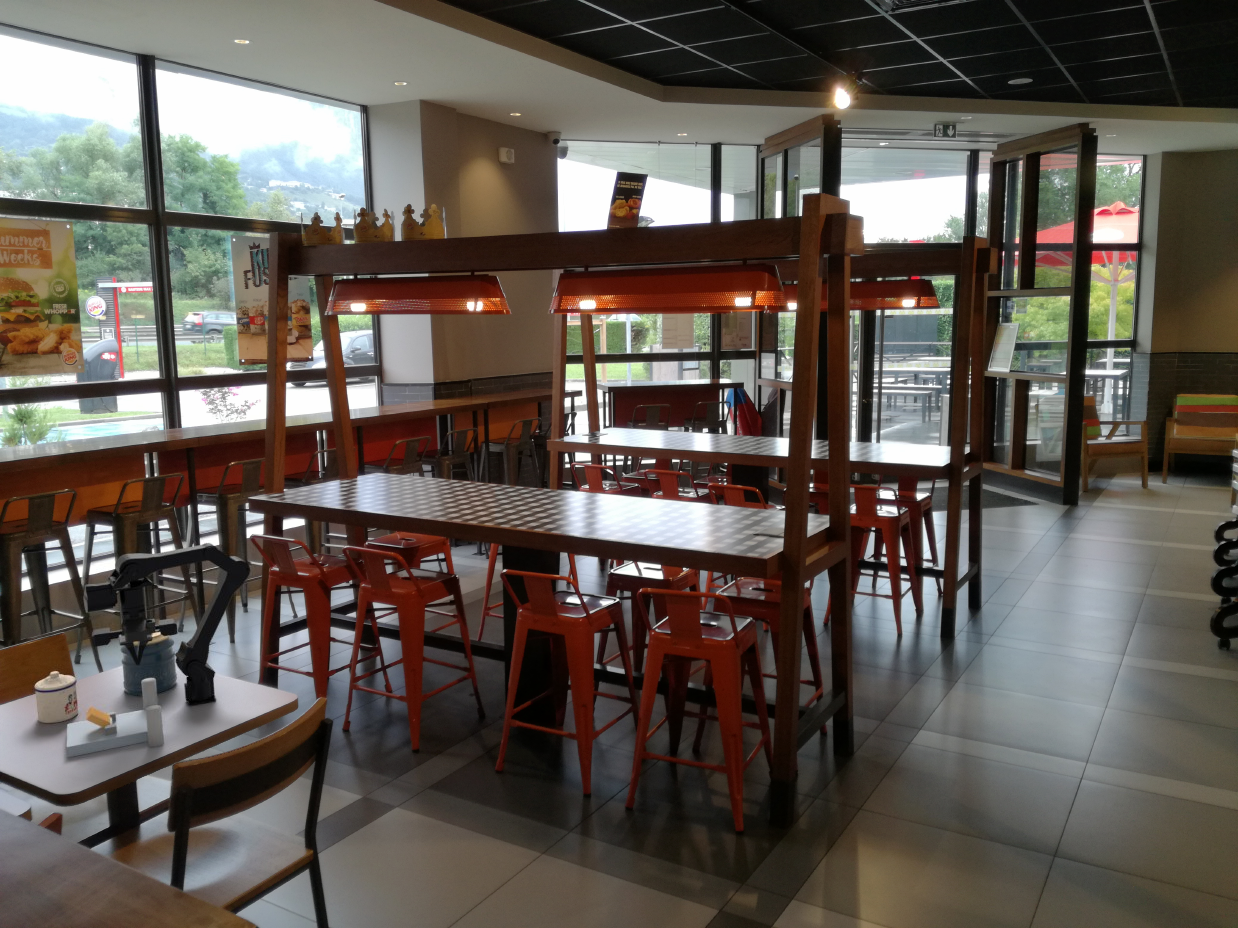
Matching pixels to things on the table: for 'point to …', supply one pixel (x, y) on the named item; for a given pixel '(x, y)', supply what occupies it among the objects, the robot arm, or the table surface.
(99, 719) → the thick orange slab
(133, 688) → the canister
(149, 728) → the cord post near
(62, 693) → the teacup with lid
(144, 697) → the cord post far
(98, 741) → the panel
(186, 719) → the table surface
